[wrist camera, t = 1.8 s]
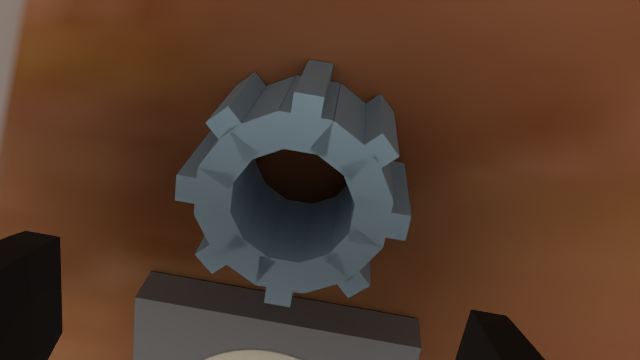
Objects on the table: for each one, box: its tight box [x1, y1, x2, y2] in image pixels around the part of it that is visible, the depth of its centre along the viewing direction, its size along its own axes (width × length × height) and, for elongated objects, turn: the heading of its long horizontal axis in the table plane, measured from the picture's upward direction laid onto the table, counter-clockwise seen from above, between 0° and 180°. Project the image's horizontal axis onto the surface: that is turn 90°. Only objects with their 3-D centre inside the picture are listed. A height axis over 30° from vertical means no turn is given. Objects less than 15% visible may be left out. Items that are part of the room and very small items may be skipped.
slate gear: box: [175, 60, 411, 307], centre depth 16 cm, size 6×6×4 cm
